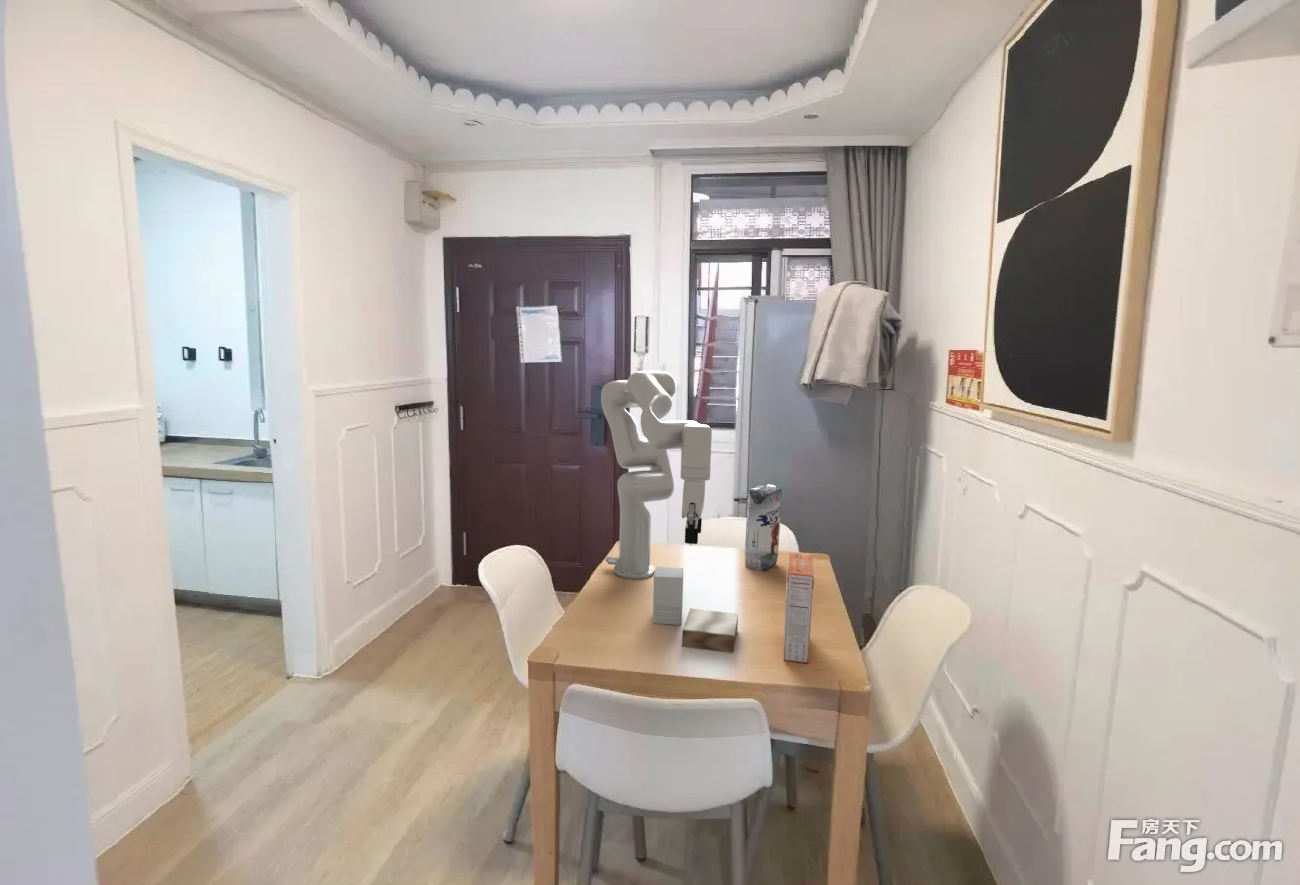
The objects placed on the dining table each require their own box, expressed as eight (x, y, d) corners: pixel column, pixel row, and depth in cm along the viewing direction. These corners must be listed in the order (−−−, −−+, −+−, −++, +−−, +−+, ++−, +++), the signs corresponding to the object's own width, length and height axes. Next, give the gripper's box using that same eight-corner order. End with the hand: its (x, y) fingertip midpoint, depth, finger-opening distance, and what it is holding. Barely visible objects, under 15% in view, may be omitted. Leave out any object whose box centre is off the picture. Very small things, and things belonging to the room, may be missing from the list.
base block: (681, 646, 146) (682, 629, 145) (689, 624, 158) (690, 608, 157) (733, 652, 144) (734, 635, 143) (737, 630, 155) (738, 613, 155)
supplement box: (682, 613, 164) (684, 567, 162) (681, 625, 157) (683, 577, 155) (654, 611, 165) (656, 565, 163) (651, 623, 157) (653, 575, 156)
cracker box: (782, 633, 154) (788, 552, 151) (808, 637, 153) (813, 555, 149) (781, 661, 140) (787, 572, 137) (809, 665, 139) (815, 575, 136)
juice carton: (740, 567, 200) (745, 485, 196) (755, 558, 209) (759, 479, 204) (766, 573, 195) (771, 489, 191) (780, 564, 204) (785, 483, 199)
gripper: (684, 466, 168) (682, 527, 170) (676, 478, 151) (674, 546, 153) (712, 467, 167) (710, 529, 169) (707, 480, 150) (704, 549, 152)
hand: (693, 537), depth 161 cm, fingers open, 9 cm apart
